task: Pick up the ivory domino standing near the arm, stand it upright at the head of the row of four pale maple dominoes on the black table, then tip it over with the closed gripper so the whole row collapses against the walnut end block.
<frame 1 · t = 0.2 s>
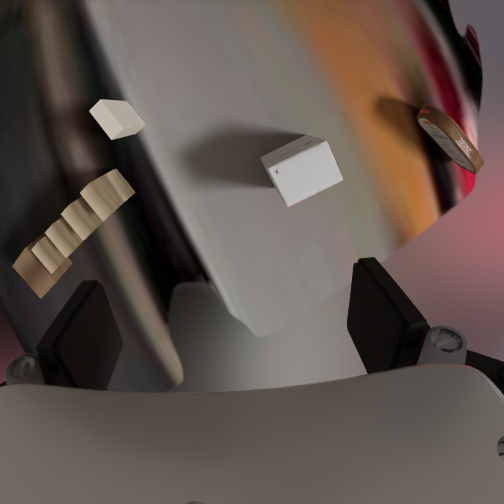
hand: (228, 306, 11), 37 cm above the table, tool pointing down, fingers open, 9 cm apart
tin: (436, 137, 43), on the table
domino 3: (102, 201, 45), on the table
end block: (51, 255, 49), on the table
domino 5: (71, 233, 47), on the table
domino 2: (121, 184, 44), on the table
domino 4: (86, 217, 46), on the table
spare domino: (131, 117, 40), on the table
small box: (291, 160, 45), on the table
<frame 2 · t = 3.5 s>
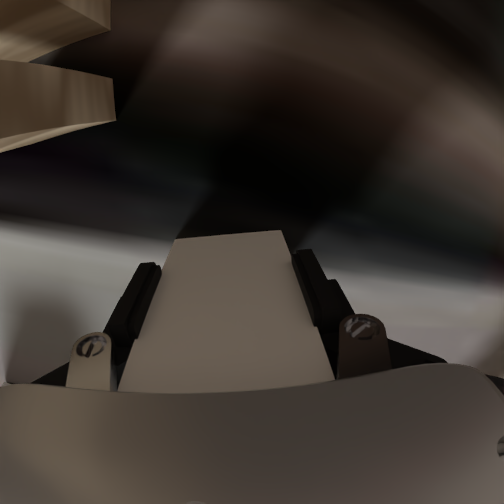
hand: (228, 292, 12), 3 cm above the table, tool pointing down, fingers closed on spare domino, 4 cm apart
domino 3: (64, 28, 9), on the table
domino 2: (68, 112, 11), on the table
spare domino: (229, 253, 15), on the table, touching gripper
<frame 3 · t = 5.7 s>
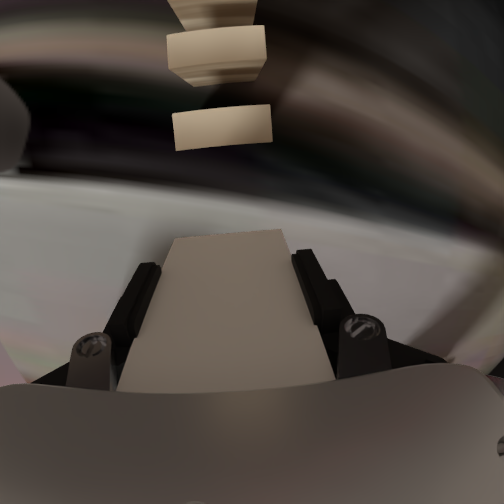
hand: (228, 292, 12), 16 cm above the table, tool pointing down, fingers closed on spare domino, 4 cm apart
domino 3: (223, 72, 22), on the table
domino 2: (227, 123, 24), on the table
domino 4: (220, 24, 20), on the table
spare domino: (229, 252, 15), point 13 cm above the table, touching gripper
when the fingers open (4 cm above the table, at t = 8.0 s): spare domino stays where it is, on the table.
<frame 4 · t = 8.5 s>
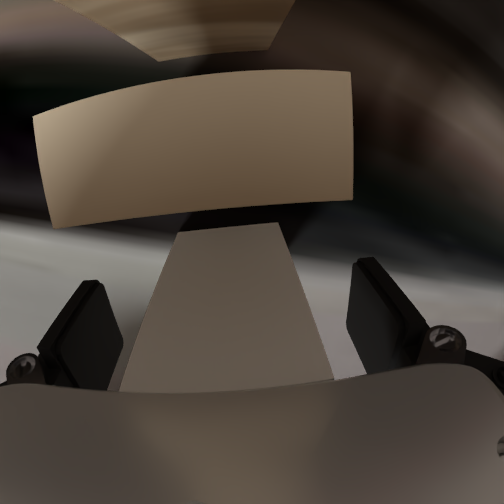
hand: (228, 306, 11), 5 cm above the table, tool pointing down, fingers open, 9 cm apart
domino 3: (211, 34, 11), on the table
domino 2: (218, 125, 13), on the table
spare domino: (229, 245, 16), on the table
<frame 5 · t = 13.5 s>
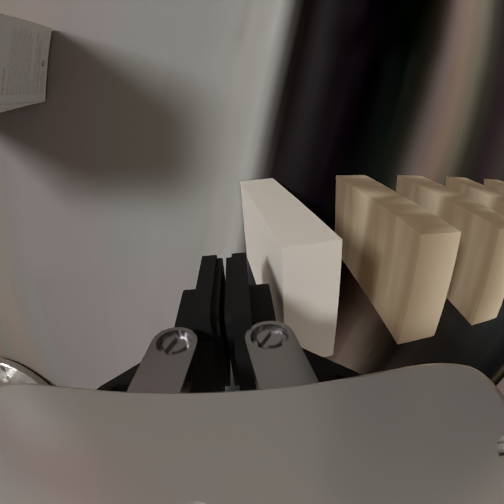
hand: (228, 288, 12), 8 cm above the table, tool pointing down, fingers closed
domino 3: (406, 209, 20), on the table
domino 5: (487, 207, 20), on the table
domino 2: (349, 212, 20), on the table
domino 4: (452, 208, 20), on the table
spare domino: (259, 218, 19), on the table, tilted 6°
small box: (10, 76, 14), on the table
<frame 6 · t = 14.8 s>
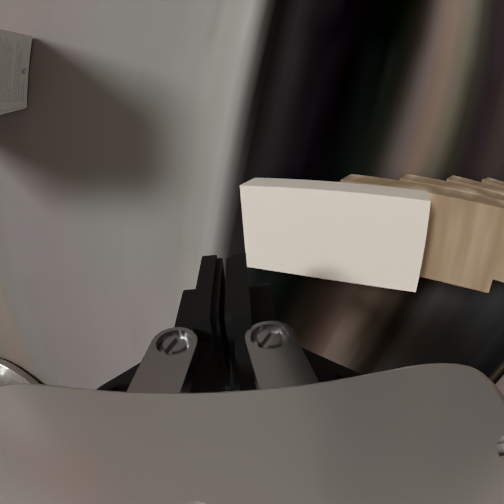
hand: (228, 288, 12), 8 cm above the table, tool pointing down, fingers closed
domino 3: (400, 212, 19), point 1 cm above the table, tilted 46°, touching domino 2, domino 4
domino 2: (345, 215, 19), point 1 cm above the table, tilted 51°, touching domino 3, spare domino
domino 4: (446, 210, 19), point 1 cm above the table, tilted 38°, touching domino 3, domino 5
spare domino: (250, 222, 19), point 1 cm above the table, tilted 62°, touching domino 2
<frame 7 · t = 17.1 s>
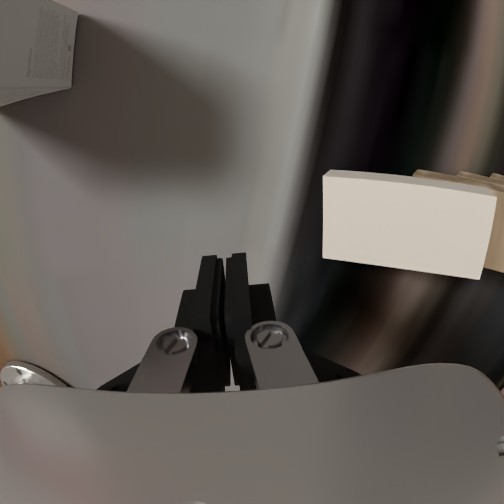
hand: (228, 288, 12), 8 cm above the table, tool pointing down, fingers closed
domino 2: (412, 208, 18), point 1 cm above the table, tilted 49°, touching domino 3, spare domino
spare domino: (327, 213, 18), point 1 cm above the table, tilted 61°, touching domino 2
small box: (31, 62, 13), on the table
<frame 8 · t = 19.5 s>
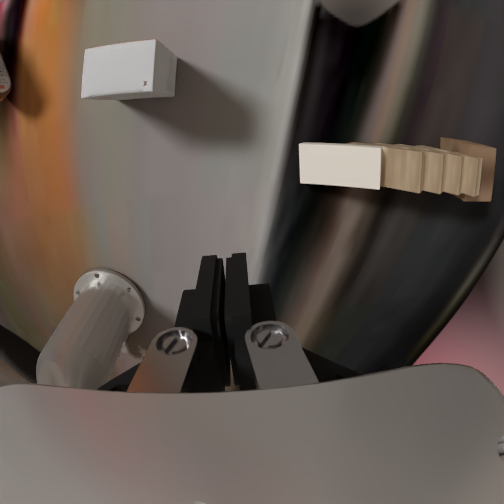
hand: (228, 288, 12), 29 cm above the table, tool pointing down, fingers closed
tin: (2, 66, 28), on the table
domino 3: (373, 161, 38), point 1 cm above the table, tilted 42°, touching domino 2, domino 4
end block: (453, 163, 39), on the table
domino 5: (418, 162, 38), on the table, tilted 27°, touching domino 4, end block
domino 2: (349, 161, 38), point 1 cm above the table, tilted 46°, touching domino 3, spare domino
domino 4: (396, 161, 38), point 1 cm above the table, tilted 37°, touching domino 3, domino 5
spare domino: (301, 162, 38), point 1 cm above the table, tilted 62°, touching domino 2
small box: (146, 78, 33), on the table
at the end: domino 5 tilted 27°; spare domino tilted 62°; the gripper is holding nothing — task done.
